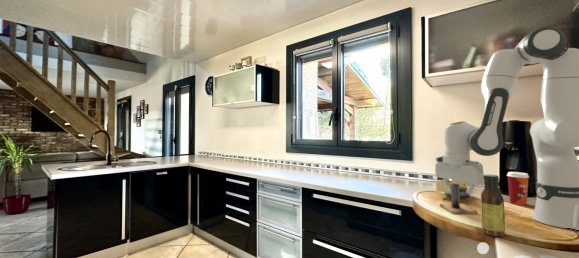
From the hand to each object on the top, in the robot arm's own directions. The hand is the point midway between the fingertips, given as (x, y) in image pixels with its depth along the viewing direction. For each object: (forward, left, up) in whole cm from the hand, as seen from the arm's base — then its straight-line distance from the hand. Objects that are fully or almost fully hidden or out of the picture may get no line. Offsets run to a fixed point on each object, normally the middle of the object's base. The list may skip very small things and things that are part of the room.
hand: (458, 191), depth 109 cm
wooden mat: (0, 0, -8) cm, 8 cm away
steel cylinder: (+1, -1, -7) cm, 7 cm away
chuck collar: (-9, -21, -5) cm, 23 cm away
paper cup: (-31, -8, -8) cm, 33 cm away
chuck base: (-12, -22, -8) cm, 26 cm away
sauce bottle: (+2, +24, -8) cm, 25 cm away
